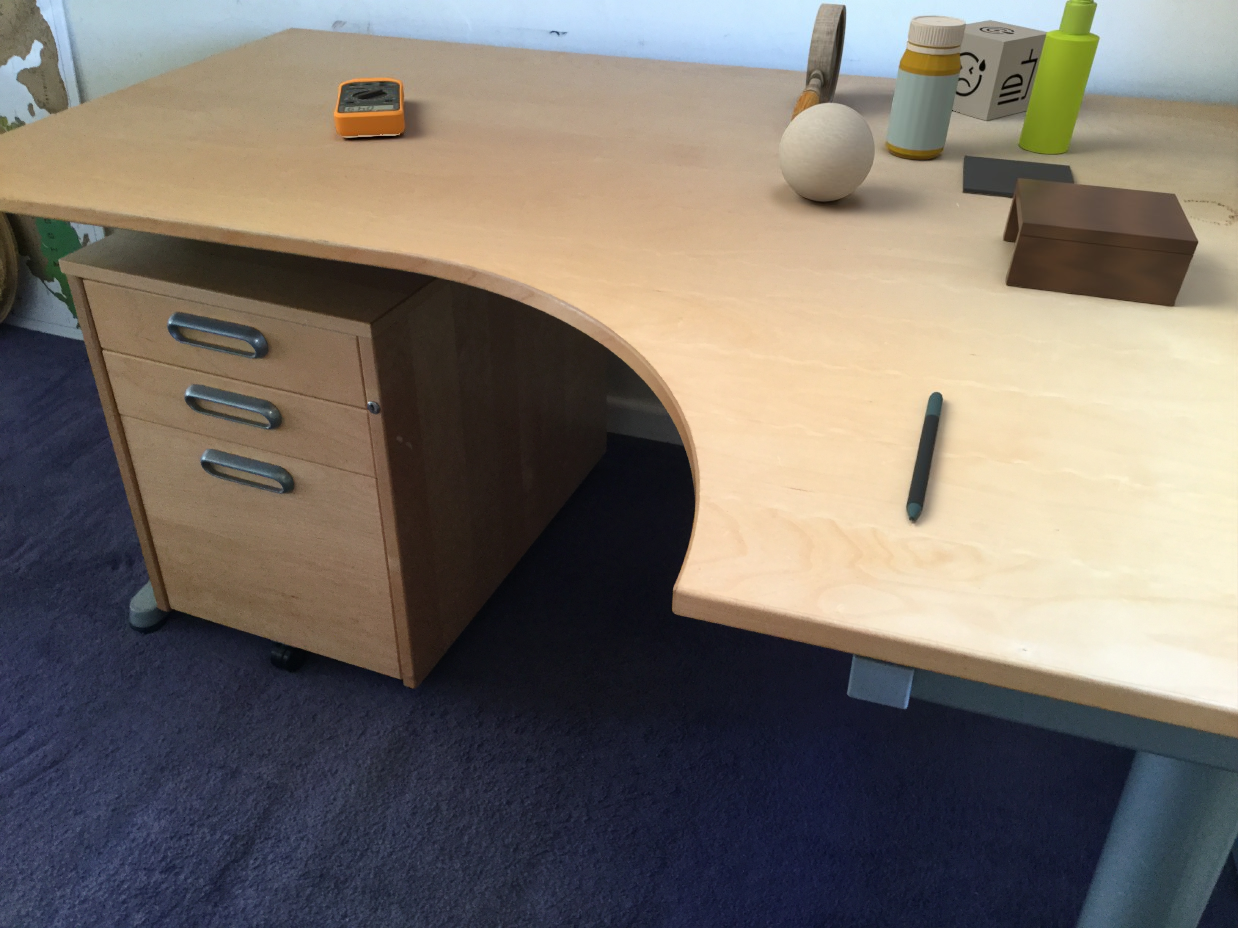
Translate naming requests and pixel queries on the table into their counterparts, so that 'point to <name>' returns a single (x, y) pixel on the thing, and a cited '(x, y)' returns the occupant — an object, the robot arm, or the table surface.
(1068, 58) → the soap dispenser
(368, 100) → the multimeter
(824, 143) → the ball
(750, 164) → the table surface
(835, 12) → the magnifying glass
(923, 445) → the pen
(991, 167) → the mat
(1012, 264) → the wooden box
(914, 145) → the bottle
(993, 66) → the icon cube
